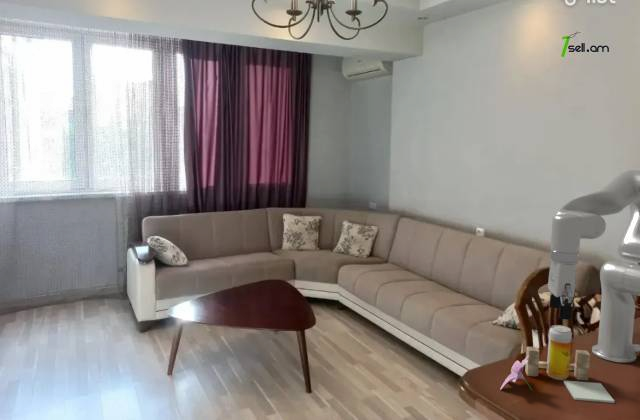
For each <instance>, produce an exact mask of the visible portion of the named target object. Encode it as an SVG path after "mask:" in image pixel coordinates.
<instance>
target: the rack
mask: <svg viewBox="0 0 640 420" xmlns="http://www.w3.org/2000/svg"><path fill="white" fill-rule="evenodd" d="M525 351H526V352H525V358H526V357H527V356H528V355H529V356H528V358H527V359H526V360H528V362H527V363H526V364H524V365H523V368H525V369H524V370H525V373H526V376H527V377H536V376H537V377H539V369H547V361H542V360H541V361H540V350H539V348H538V347H537V346H526V349H525ZM523 360H524V359H522V360H521V362H522V361H523ZM590 361H591V354H590V353H589V351H587V350H584V349H583V350H582V349H581V350H580V349H575V355H574V363H570V368H569V371H574V372H573V376H574V377H575V379H576V381H589V376H590V375H589V373H590V363H591V362H590Z"/></svg>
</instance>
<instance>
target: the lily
mask: <svg viewBox="0 0 640 420" xmlns="http://www.w3.org/2000/svg"><path fill="white" fill-rule="evenodd" d="M528 356H529V355H528ZM528 356H527V357H526V356H525V358H524V359H522V360H523V361H522V360H521V362H520V361H519V360H515V361H514V363H513V365H512V367H511V368H510V374H509V375H508V376H507V377H506V378H505V380H504V382H503V383H502V385H501V387H500V390H502V389H503V388H504V386H505V385H506V384H507V383H509V382H510V381H512V382H513V383H516V381H517V380H520V379H521V380H523V381H525V383H526V384H527V386H528V388H529V389H530V390H531V391H533V389H532V388H531V385H530V384H529V382H528V381H527V380H526V379H525V377H524V367H523V365H524V364H526V363H527V362H528V360H526V359H527V358H528Z"/></svg>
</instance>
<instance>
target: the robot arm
mask: <svg viewBox="0 0 640 420" xmlns="http://www.w3.org/2000/svg"><path fill="white" fill-rule="evenodd" d="M628 206H629V211H630V213H629V214H630V217H629V221H628V224H627V225H626V227H625V229H624V232H623V234H622V236H621V239H620V240H619V243H618V246H617V254H618V256H619V257H620V258H622V259H624V260H627V261H623V260H617V259H616V260H609V261H606V262H604V263H603V264H602V266H601V268H600V270H599V278H600V279H599V280H600V286H601V287H600V288H601V302H600V315H599V327H598V337H597V339H598V340H597V344H595V345H592V347H591V351H592V353H593V355H595V356H597V358H598V357H599V358H600V359H603V360H606V361H611V362H615V363H622V364H626V363H632V362H635V361H636V360H637V354H638V353H640V344H634V343H633V335H634V334H633V333H634V325H635V313H636V305H635V300H634V298H633V295H634V296H639V297H640V170H633V169H631V170H625V171H623V172H621V173H620V174H618V175H617V176H616V177H615V178H613V179H612V180H611V181H610V182H609V183H608V184H606V185H605V186H603V188H602V189H600V190H598V191H595V192H591V193H588V194H586V195H582V196H579V197H576V198H574V199H571V200H570V201H568V202H566V204H565V205H563V206H562V207H560V208H559V210H557V212H556V213H555V215H554V216H553V217H552V222H551V223H552V224H551V226H552V227H551V237H550V239H551V240H550V252H549V254H550V255H549V261H550V264H549V265H550V267H549V272H548V282H547V289H548V291H550V292H549V293H550V295H549V308H551V309H559V313H558V318H559V319H560V320H567V321H568V320H569V321H571V320H572V316H573V305H574V304H573V303H574V296H575V291H576V290H575V289H576V265H578V264H579V259H580V258H579V257H580V245H581V239H583V240H584V239H585V240H586V239H587V240H595V239H599V237H601V236H602V235H603V234H604V233H605V231H606V228H607V224H606V220H605V218H604V216H610V215H615V214H619V213H621V212H622V211H624V210H625V208H627V207H628ZM602 216H603V217H602ZM629 261H630V262H629ZM632 262H635V263H632ZM638 263H639V264H638Z"/></svg>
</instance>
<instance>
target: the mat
mask: <svg viewBox="0 0 640 420" xmlns="http://www.w3.org/2000/svg"><path fill="white" fill-rule="evenodd" d="M563 384H564V386H565V387H566V389H567V390H568V392H569V394H570V395H571V396H572V398H573V400H576V401H584V402H585V401H587V402H597V403H599V402H600V403H612V404H615V399H614V398H613V397H612V396H611V395H610V393H609V392H608V391H607V390H606V388H605V387H604V386H603V385H602V383H601V382H590V381H589V382H588V381H578V380H576V381H575V380H574V381H573V380H563Z"/></svg>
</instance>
